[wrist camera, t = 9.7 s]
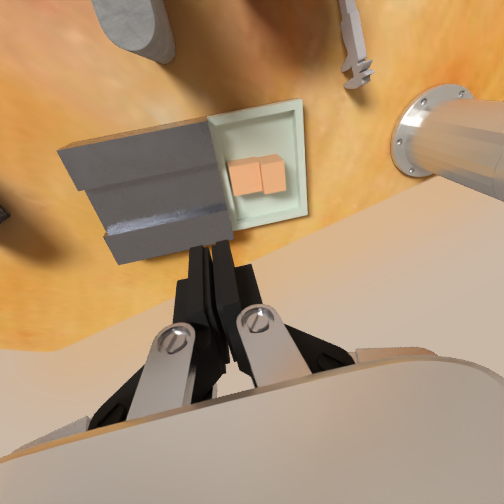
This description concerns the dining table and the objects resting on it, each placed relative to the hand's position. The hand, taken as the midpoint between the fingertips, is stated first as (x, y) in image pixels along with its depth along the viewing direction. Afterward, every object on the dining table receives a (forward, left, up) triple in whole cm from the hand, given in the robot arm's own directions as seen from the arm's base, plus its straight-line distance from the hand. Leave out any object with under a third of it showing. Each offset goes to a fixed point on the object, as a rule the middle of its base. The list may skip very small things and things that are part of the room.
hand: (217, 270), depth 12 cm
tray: (-7, +5, -29) cm, 30 cm away
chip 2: (-6, +5, -27) cm, 28 cm away
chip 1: (-4, +5, -29) cm, 29 cm away
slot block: (+7, +5, -29) cm, 30 cm away
